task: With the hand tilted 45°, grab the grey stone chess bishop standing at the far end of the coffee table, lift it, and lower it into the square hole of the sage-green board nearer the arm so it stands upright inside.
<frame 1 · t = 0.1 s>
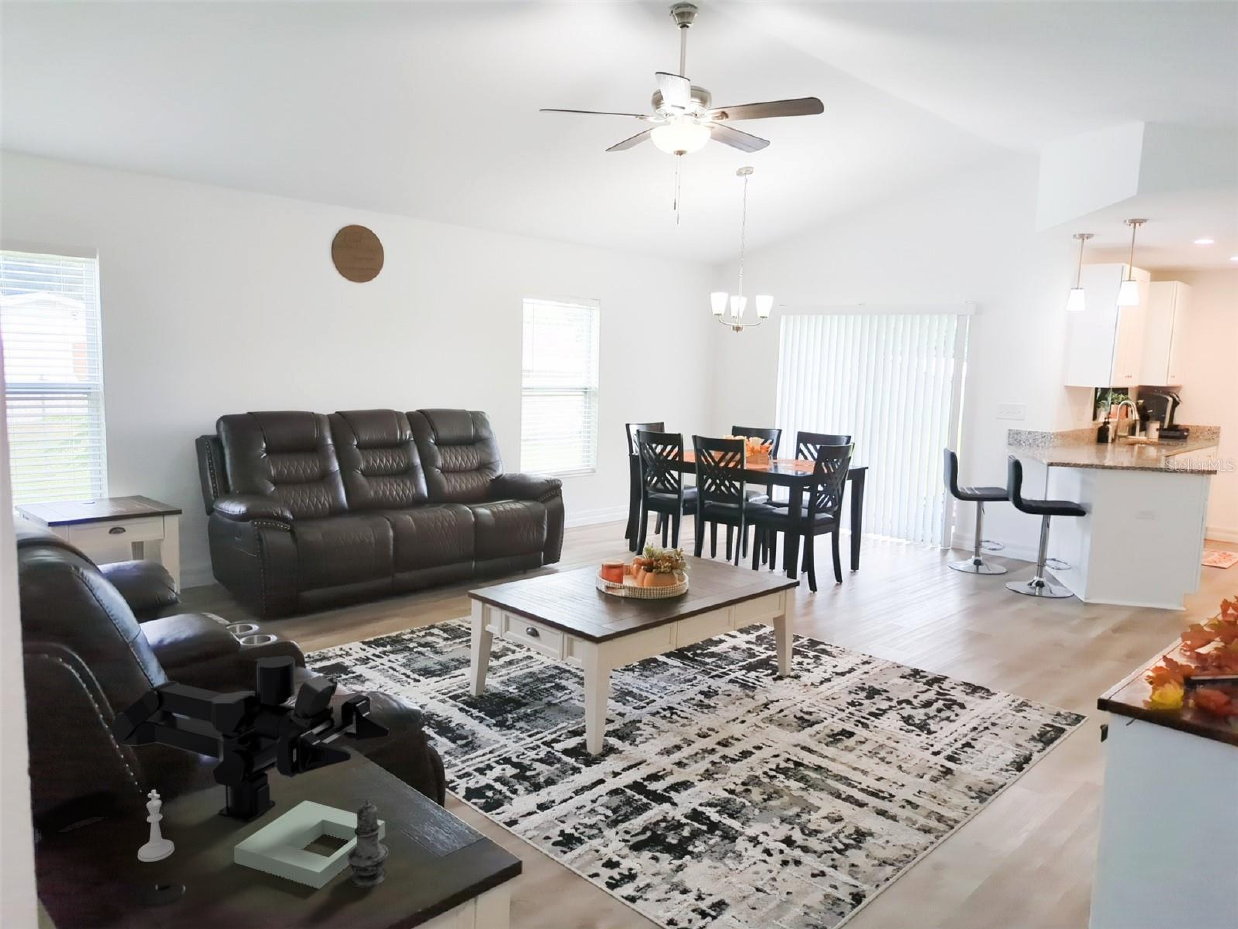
hand: (369, 744, 131), 17 cm above the table, tool horizontal, fingers open, 9 cm apart
grey stone chess bishop: (368, 878, 125), on the table
socket board: (312, 849, 132), on the table
chess piece: (156, 854, 130), on the table
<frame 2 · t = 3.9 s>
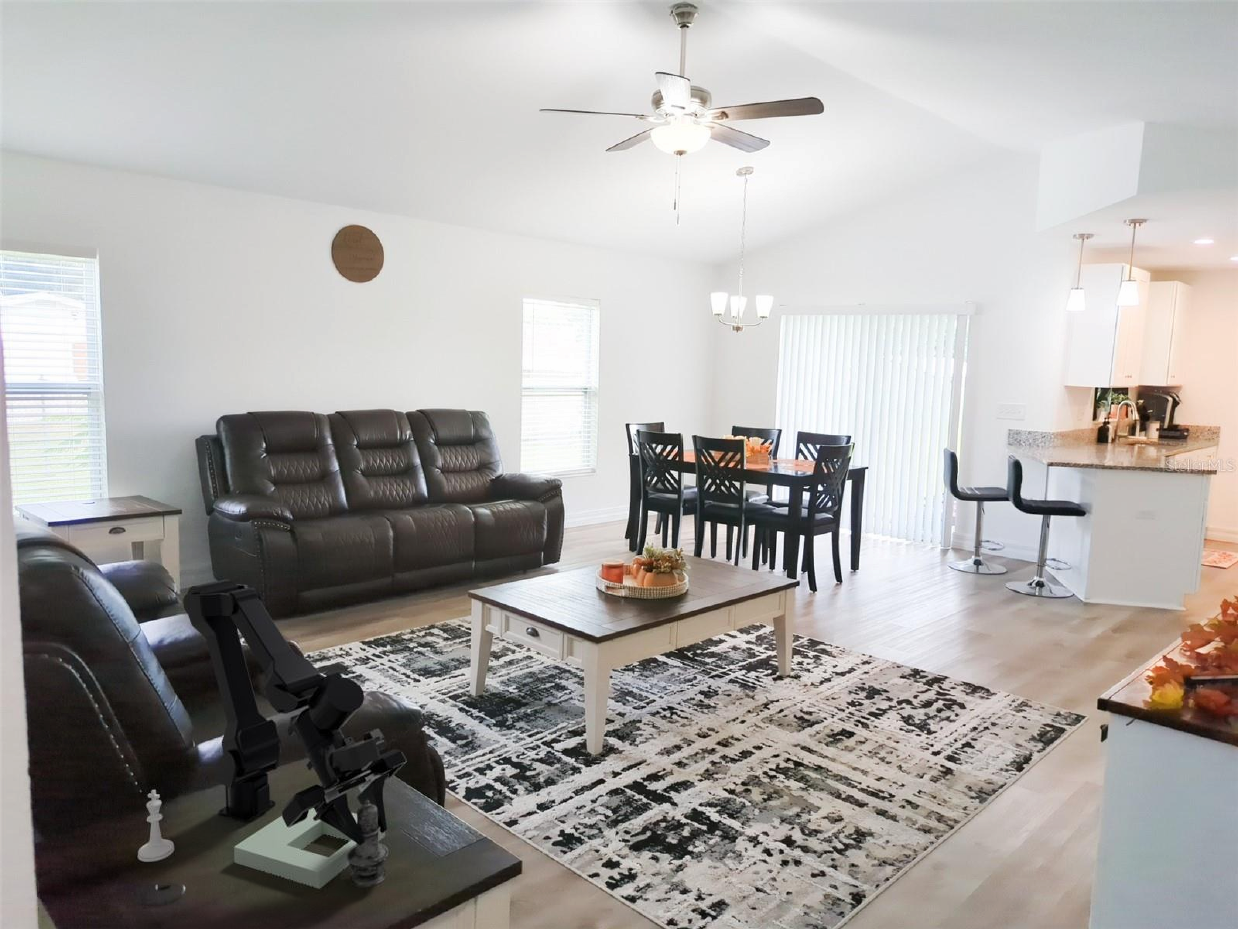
hand: (373, 837, 123), 7 cm above the table, tool tilted 45°, fingers closed on grey stone chess bishop, 4 cm apart
grey stone chess bishop: (368, 878, 125), on the table, touching gripper
everything else where it was.
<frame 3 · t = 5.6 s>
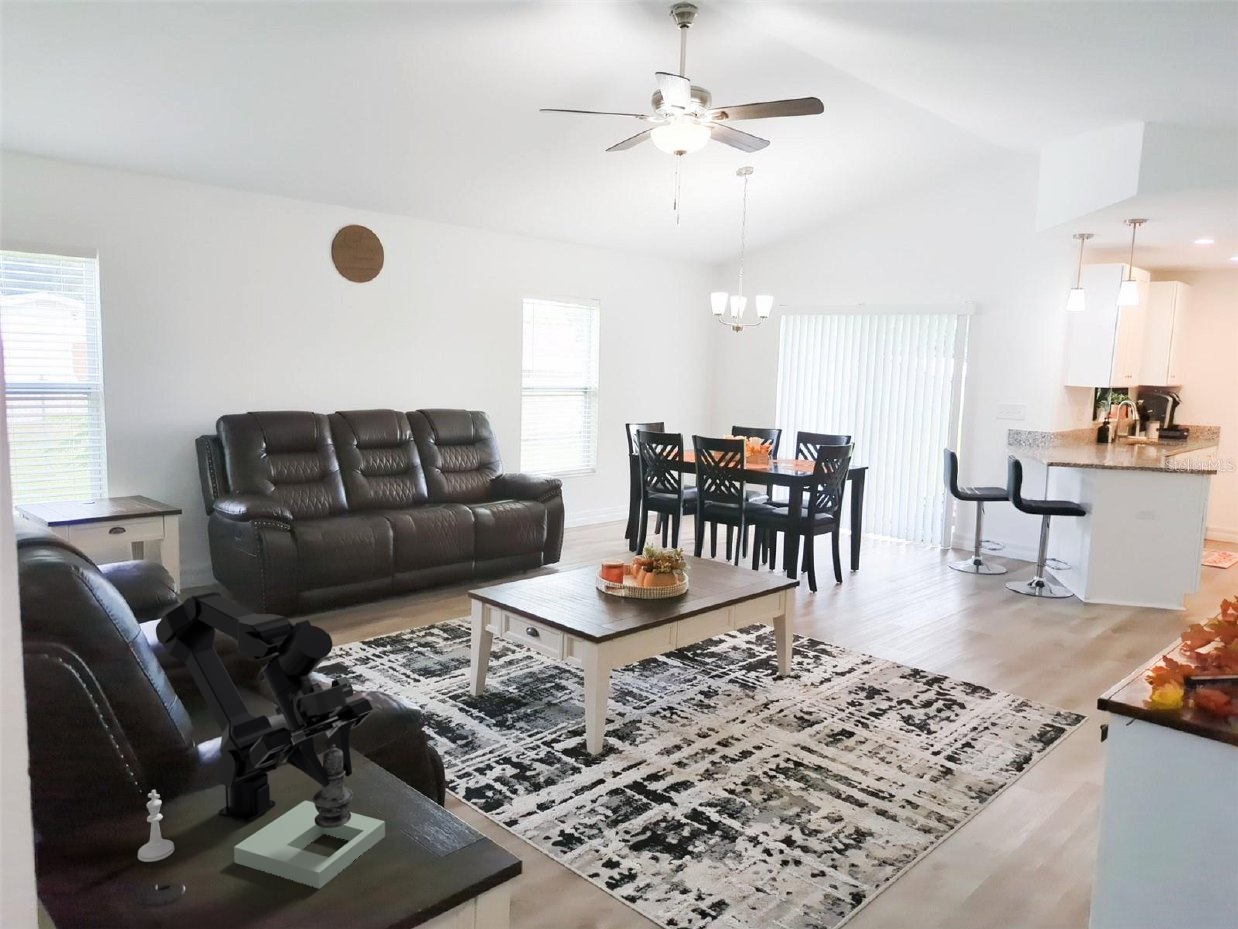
hand: (338, 780, 127), 13 cm above the table, tool tilted 45°, fingers closed on grey stone chess bishop, 4 cm apart
grey stone chess bishop: (332, 819, 129), point 6 cm above the table, touching gripper
everything else where it was.
when the fingers open (8 cm above the table, at t = 7.4 s): grey stone chess bishop drops 1 cm, resting in socket board.
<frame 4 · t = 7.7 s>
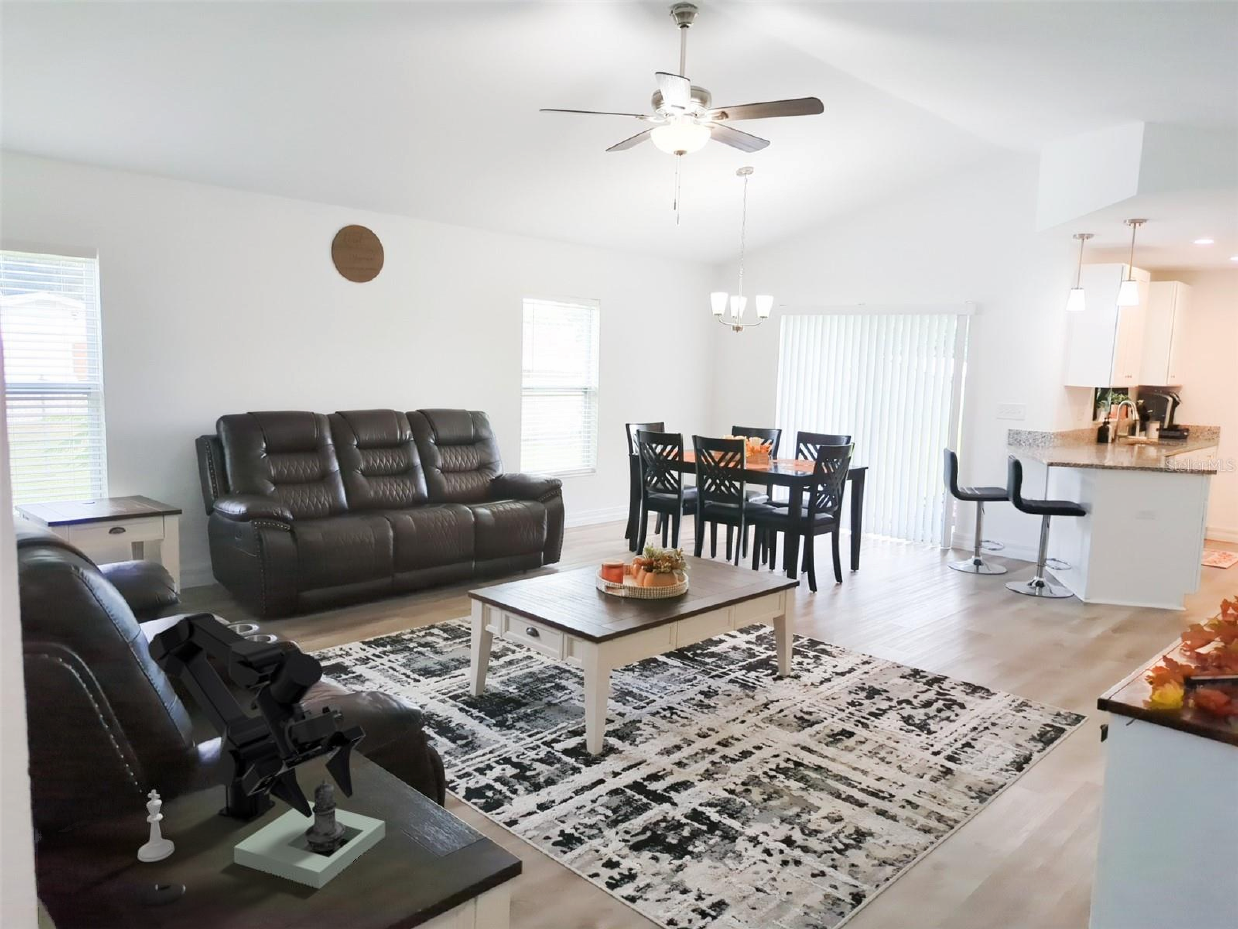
hand: (330, 806, 129), 8 cm above the table, tool tilted 45°, fingers open, 7 cm apart
grey stone chess bishop: (325, 854, 131), resting in socket board
everything else where it was.
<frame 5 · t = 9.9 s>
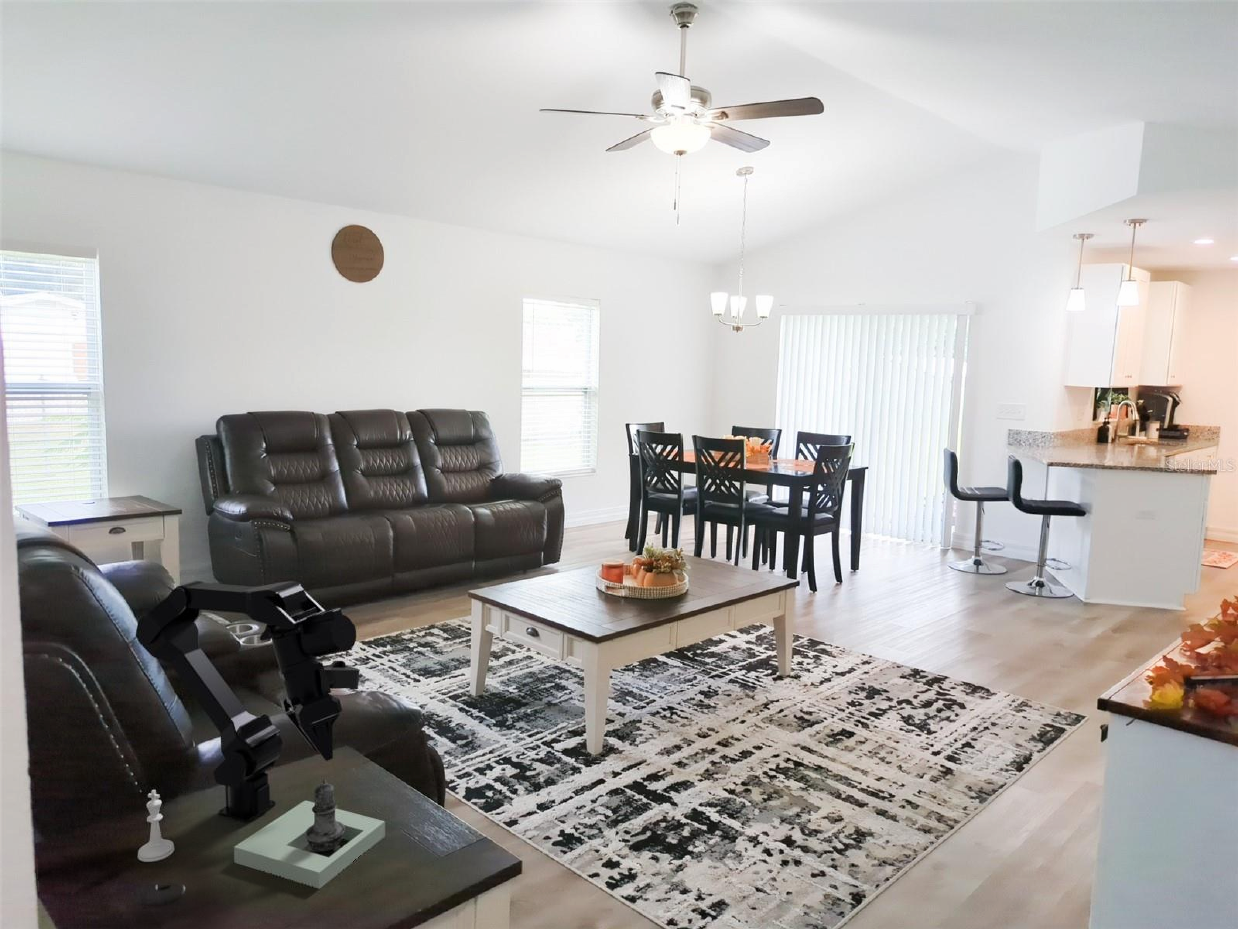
hand: (323, 754, 136), 12 cm above the table, tool tilted 15°, fingers open, 9 cm apart
nothing on the table moved.
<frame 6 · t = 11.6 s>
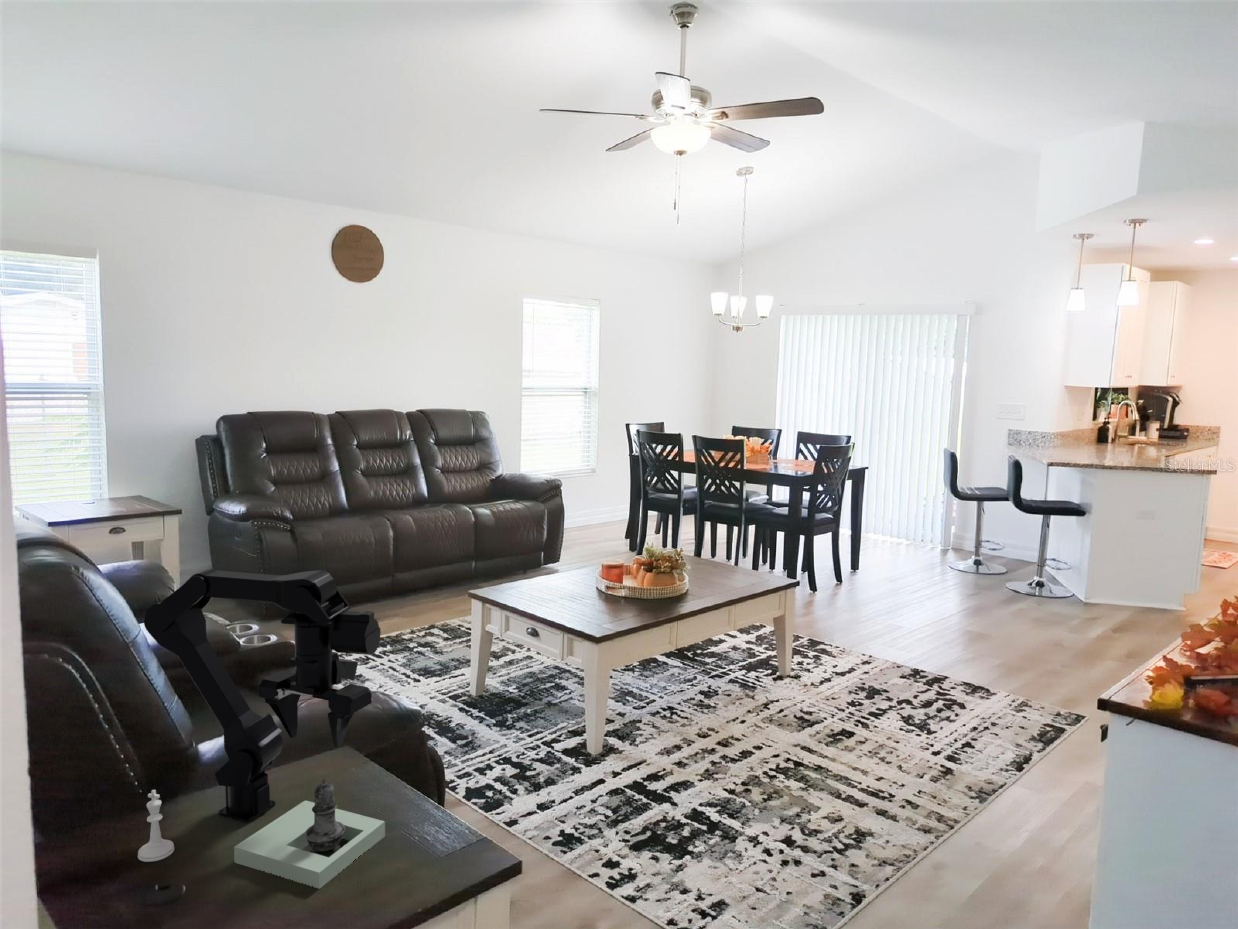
hand: (315, 742, 139), 13 cm above the table, tool pointing down, fingers open, 9 cm apart
nothing on the table moved.
at the end: grey stone chess bishop 0.1 cm from the target spot on the socket board, point 0.0 cm above the socket board's base; grey stone chess bishop tilted 0°; the gripper is holding nothing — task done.
